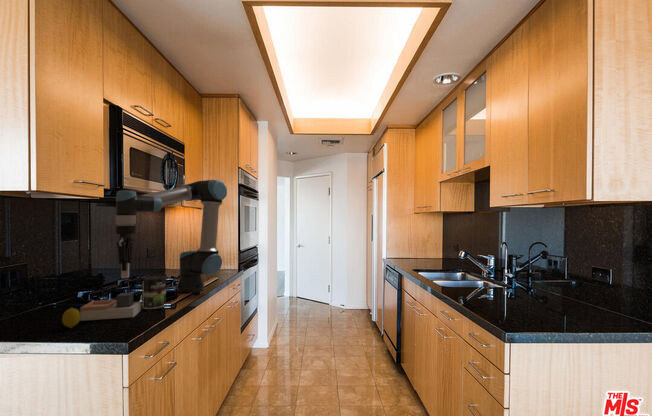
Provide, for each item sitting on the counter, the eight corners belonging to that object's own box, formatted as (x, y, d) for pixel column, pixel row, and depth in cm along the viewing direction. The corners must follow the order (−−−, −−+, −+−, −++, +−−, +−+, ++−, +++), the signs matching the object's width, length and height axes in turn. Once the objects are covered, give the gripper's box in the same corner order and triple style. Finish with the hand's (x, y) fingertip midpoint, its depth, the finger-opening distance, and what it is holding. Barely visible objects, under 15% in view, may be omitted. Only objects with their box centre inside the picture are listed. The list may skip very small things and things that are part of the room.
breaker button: (133, 305, 144) (133, 292, 145) (129, 309, 140) (129, 295, 140) (120, 306, 143) (121, 293, 143) (116, 309, 138) (116, 295, 139)
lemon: (75, 330, 122) (75, 309, 123) (58, 331, 121) (58, 310, 121) (82, 325, 128) (83, 305, 128) (67, 326, 127) (67, 306, 127)
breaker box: (141, 310, 147) (141, 298, 148) (133, 317, 138) (133, 304, 138) (91, 313, 143) (92, 301, 143) (80, 320, 133) (80, 307, 133)
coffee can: (170, 305, 155) (170, 276, 155) (148, 310, 147) (148, 280, 147) (160, 302, 161) (160, 274, 162) (138, 306, 153) (138, 277, 153)
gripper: (122, 224, 148) (121, 275, 147) (110, 225, 135) (109, 281, 134) (140, 224, 149) (139, 274, 149) (129, 225, 137) (128, 280, 136)
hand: (125, 277), depth 142 cm, fingers closed
